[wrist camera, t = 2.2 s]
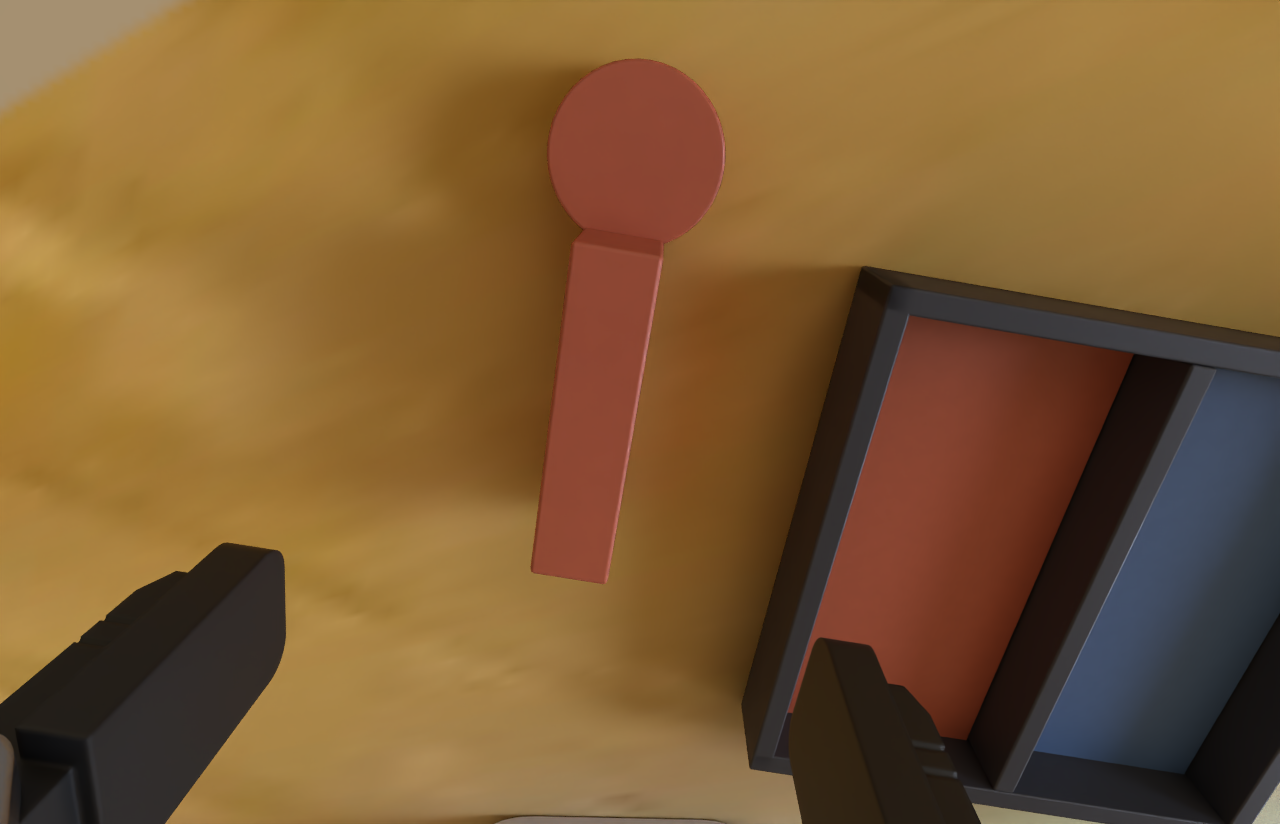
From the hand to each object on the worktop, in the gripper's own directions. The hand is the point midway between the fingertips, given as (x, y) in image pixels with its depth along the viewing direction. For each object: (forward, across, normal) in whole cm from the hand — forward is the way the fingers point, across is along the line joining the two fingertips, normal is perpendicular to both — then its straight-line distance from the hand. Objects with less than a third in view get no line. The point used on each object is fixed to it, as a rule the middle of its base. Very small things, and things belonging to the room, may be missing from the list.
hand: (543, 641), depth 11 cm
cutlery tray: (+9, -13, +2) cm, 16 cm away
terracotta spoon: (+9, 0, -3) cm, 10 cm away
